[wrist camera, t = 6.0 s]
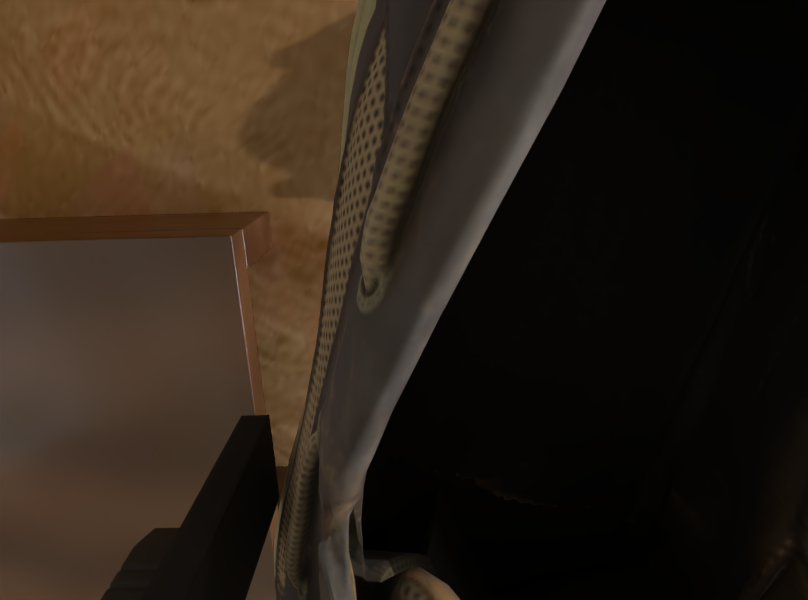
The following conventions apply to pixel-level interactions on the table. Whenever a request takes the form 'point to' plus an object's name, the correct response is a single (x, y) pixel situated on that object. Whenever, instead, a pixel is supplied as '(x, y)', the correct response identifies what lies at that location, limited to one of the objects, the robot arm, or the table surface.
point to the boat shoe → (561, 309)
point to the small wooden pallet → (119, 387)
